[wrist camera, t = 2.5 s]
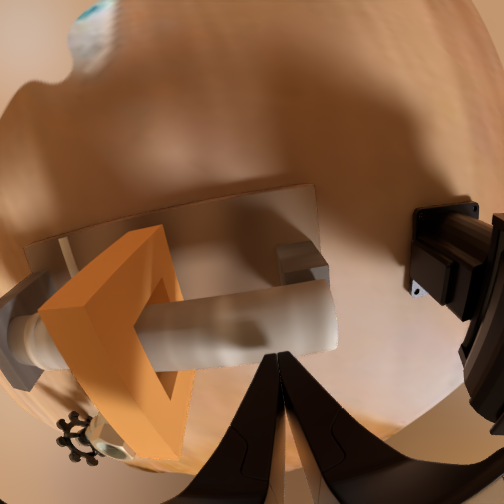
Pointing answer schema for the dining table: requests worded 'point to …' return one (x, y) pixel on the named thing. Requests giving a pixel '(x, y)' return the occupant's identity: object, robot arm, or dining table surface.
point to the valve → (93, 439)
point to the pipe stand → (195, 286)
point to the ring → (123, 342)
